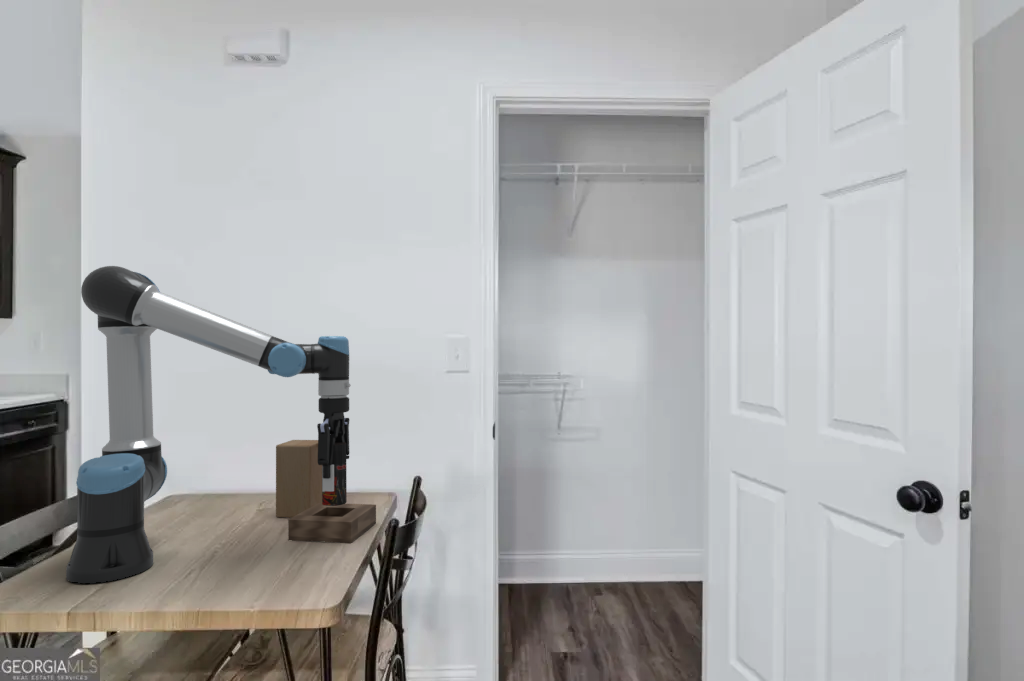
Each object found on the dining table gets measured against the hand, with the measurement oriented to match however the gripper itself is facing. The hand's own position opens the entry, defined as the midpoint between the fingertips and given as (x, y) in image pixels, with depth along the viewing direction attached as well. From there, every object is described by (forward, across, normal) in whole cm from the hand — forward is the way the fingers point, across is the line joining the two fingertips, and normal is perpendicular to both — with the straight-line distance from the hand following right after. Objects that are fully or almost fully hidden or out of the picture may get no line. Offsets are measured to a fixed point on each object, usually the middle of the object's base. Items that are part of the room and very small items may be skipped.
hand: (334, 487), depth 149 cm
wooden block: (+11, +15, +17) cm, 25 cm away
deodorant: (+4, 0, 0) cm, 4 cm away
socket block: (+11, 0, 0) cm, 11 cm away
